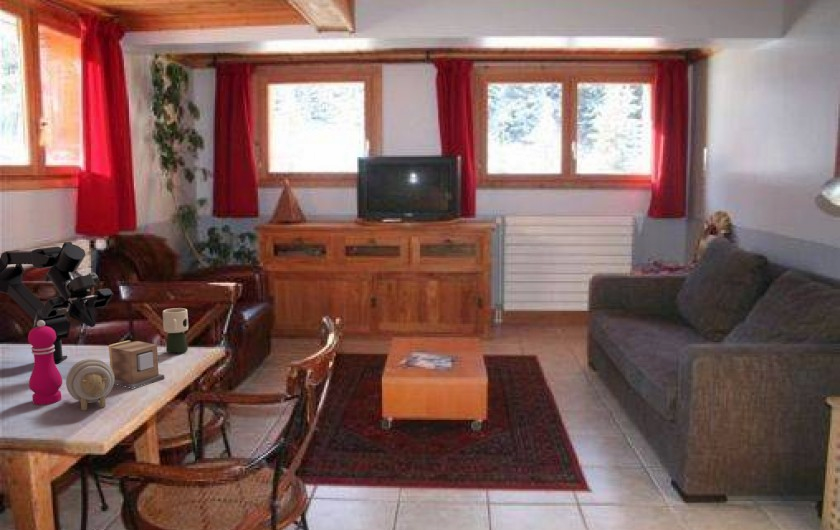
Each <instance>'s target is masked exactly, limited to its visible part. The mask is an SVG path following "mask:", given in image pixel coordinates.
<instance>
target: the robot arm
mask: <svg viewBox="0 0 840 530" xmlns="http://www.w3.org/2000/svg"><path fill="white" fill-rule="evenodd" d="M85 257H86V251H85V249H84V248H82V247H81V246H79V245H77V244H73V243H72V241H65V242H63V244H62V245H61V246H50V247H41V248H36V249H33V250H18V249H16V250H5V251H4V252H2V253H1V255H0V293H4V294H5V295H6V294H7V295H8V296H9V297H10V298H11V299H12V300H13V301H14V302H15V303H16V304H17V305H18V306H19V307H20V308H21V309H22V310H23V311H24V312H25V313H26V314H27V315H28V316H29V317H30V318H31V319H32V320H33V329H34V328H36V327H38V326H37V322H38V321H39V320H43V321H44V322H45V326H47V327H50V328H52V329H53V330H54V331H55V333H56V340H55V342H54V343H53V345H54V346H55V347H54V349H55V351H54V352H53V358H54V363H55V364H60V363H61V362H63V361H64V360H66V359H67V358H68V356H67V355H63V345H62V340H64V339H68V338H69V336H70V330H71V322H70V319H69V318H68V317H70V318H72V319H75V320H76V321H79V322H80V323H82V324H84V325H86V326H88V327H89V328H94V327H95V326H96V321H95V315H94V309H102V308H105V307H106V306H107V305H108V304H109V302H110V301H111V300H112V298H113V296H114V292H112V290H111V289H110V288H108V287H107V288H101V289H96V290H95V291H94V292H93V294H92V295H88V294H90V292H91V290H90V289H91V288H93V287H96V285H97V284H99V282H100V279H99V276H98V275H97V274H96V272H89V273H88V274H86V275H80V276H77V277H76V276H75V275H74V273H75V272H76V271H77V270H78V269H79V267H80V266H81V264H82V262H83V260H84V259H85ZM10 265H15V266H10ZM23 265H32V266H33V268H37V269H41V270H43V269H48V268H49V270H48V271H46V275H45V278H44V279H45V282H46V283H47V282H48V283H49V282H51V283H52V284H53V286H54V287H55V288H56V293H55V294H56V296H55V297H50V298H47V300H46V302H45V304H44V303H43V302H42V300H40V298H38V297H37V295H35V294H34V293H33V292H32V291H31V290H30V289H29V287H27V286H26V285H25V284H24V283H23V274H24V272H25V270H24V267H23ZM64 309H65V310H66V313H64V312H63V310H64Z"/></svg>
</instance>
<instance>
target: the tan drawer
mask: <svg viewBox="0 0 840 530" xmlns="http://www.w3.org/2000/svg"><path fill="white" fill-rule="evenodd" d="M130 342H132V341H131V340H125V341H120V342H117V343H112V344H109V345H108V353H109V354H108V355H109V366H110V367H111V369H112V371H113V368H112V353H111V348H112V347H115V346H118V345H122V344H126V343H130ZM136 357H137V370H140V371H141V370H144V369H148V368H151V367H153V352H150V351H146V352H142V353H139V354H136Z"/></svg>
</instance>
